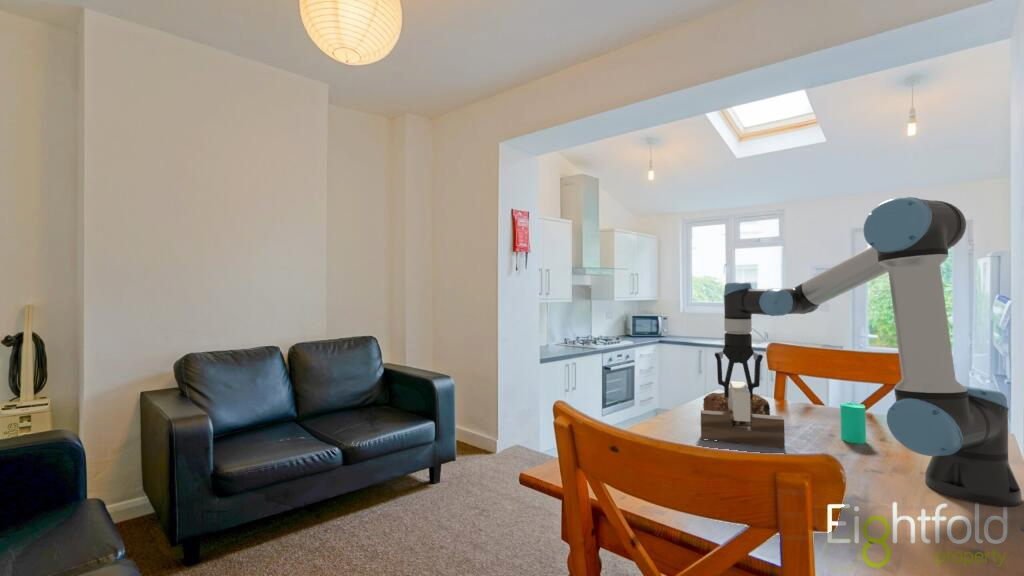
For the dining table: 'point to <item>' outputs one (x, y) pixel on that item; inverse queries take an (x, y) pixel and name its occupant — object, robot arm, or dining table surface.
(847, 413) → the candle
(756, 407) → the bread
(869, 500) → the dining table surface
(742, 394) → the cream bar
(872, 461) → the dining table surface
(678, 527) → the dining table surface
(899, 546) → the dining table surface
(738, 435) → the walnut rail
